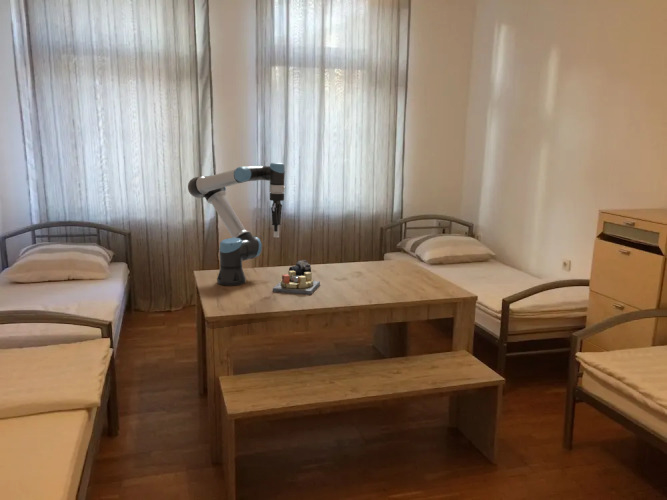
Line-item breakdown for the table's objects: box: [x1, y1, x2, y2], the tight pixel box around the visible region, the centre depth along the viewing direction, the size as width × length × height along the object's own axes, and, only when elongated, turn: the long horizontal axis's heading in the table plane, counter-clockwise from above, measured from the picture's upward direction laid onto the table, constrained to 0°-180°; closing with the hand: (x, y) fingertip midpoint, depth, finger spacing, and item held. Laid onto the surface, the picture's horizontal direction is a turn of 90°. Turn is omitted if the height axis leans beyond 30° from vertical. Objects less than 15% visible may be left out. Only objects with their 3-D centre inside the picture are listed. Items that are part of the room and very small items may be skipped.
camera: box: [288, 259, 312, 276], centre depth 322 cm, size 16×10×10 cm, turn 27°
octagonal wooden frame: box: [280, 270, 314, 288], centre depth 300 cm, size 16×16×6 cm
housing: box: [272, 276, 321, 295], centre depth 300 cm, size 20×20×6 cm
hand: (276, 237), depth 306 cm, fingers closed
